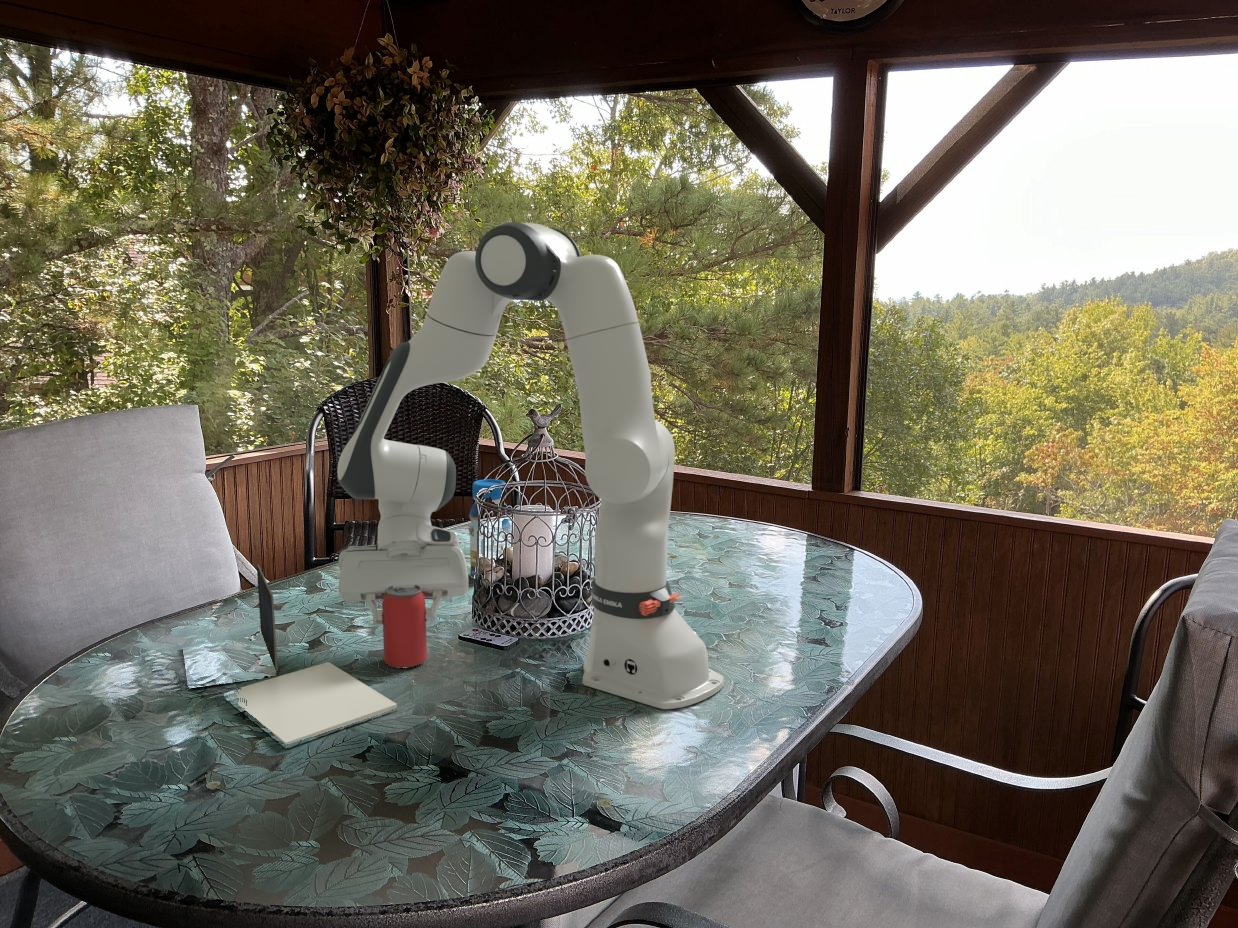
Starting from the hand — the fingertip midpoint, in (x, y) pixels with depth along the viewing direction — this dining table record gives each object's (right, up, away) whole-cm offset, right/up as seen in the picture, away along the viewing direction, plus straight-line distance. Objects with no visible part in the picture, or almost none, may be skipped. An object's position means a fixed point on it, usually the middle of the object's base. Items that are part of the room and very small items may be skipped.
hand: (404, 621), depth 140 cm
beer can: (0, -7, +2) cm, 7 cm away
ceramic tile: (-10, -9, -13) cm, 19 cm away
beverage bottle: (+7, +1, +45) cm, 46 cm away
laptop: (-28, -7, +1) cm, 29 cm away
